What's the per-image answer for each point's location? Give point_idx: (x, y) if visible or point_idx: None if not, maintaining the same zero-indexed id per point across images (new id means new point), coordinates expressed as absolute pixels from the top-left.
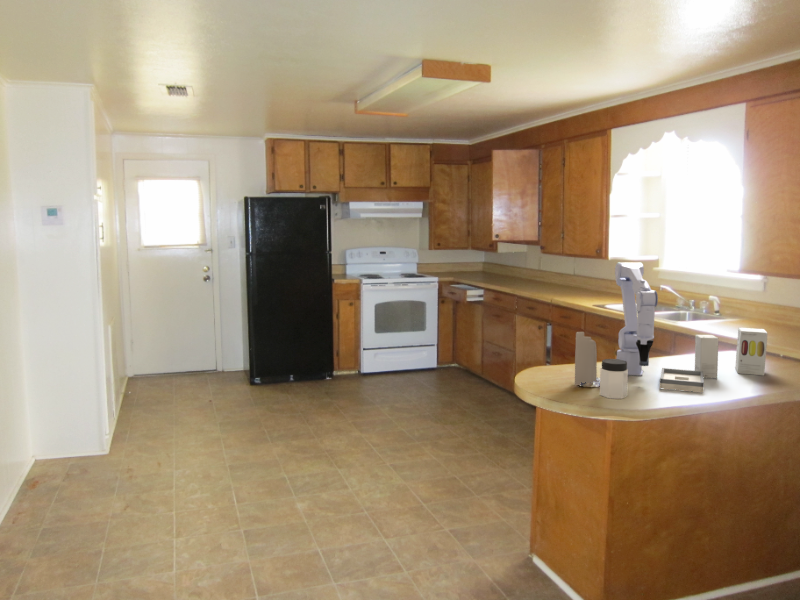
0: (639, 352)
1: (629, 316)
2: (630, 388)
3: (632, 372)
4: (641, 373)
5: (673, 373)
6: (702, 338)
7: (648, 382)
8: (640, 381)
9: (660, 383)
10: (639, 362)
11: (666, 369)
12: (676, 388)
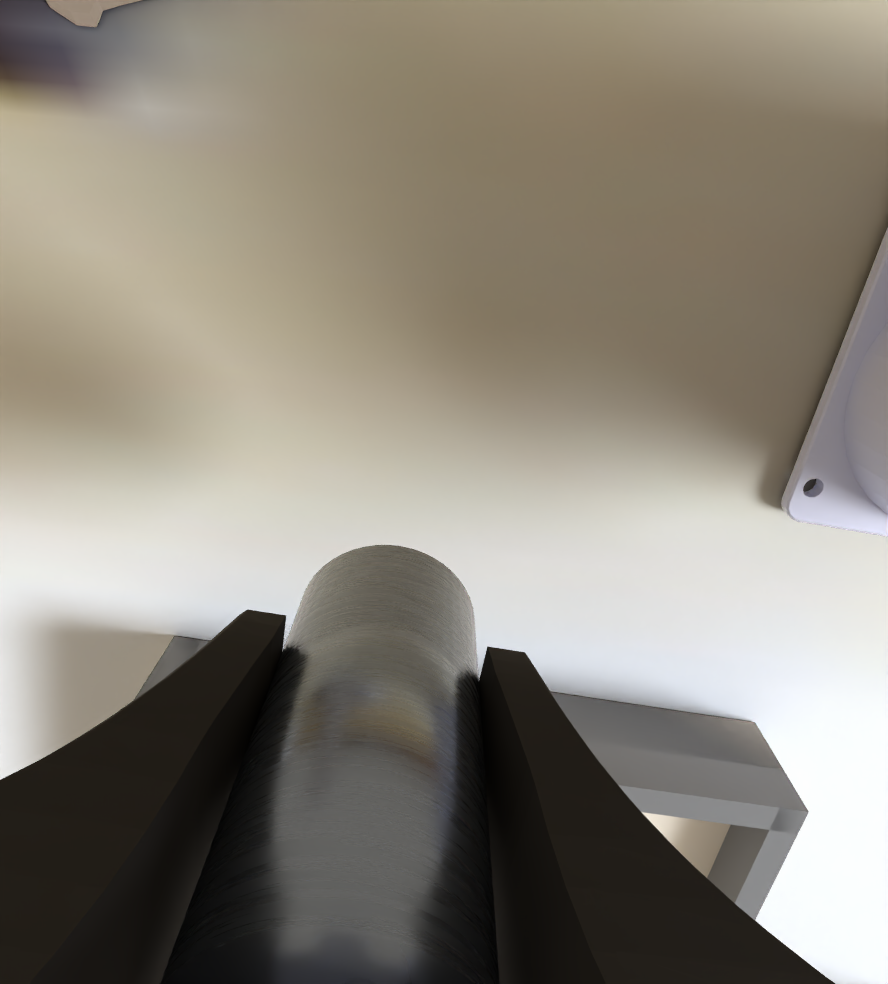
0: (95, 732)
1: None
2: (29, 287)
3: (858, 403)
4: (862, 523)
5: (702, 865)
6: None
7: (448, 553)
8: (480, 463)
9: (151, 681)
10: (360, 572)
11: (757, 841)
12: None
